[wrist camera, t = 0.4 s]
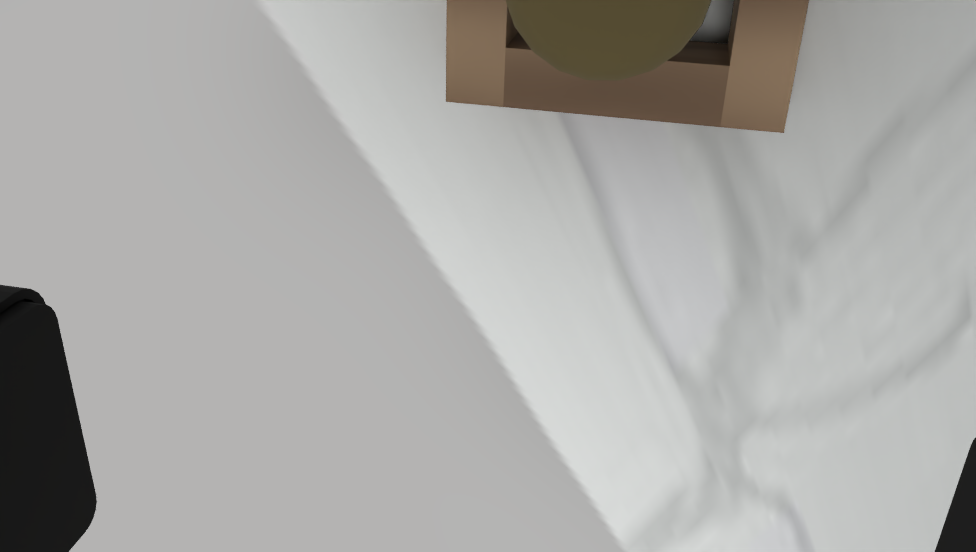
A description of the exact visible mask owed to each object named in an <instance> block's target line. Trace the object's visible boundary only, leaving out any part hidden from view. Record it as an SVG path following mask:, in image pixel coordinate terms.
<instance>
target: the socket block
mask: <svg viewBox="0 0 976 552" xmlns="http://www.w3.org/2000/svg"><path fill="white" fill-rule="evenodd" d="M808 3H809V0H734V5H733V12H732V18H731V25H730V31H729V38H728V44H723V43H710V42H697V41H688V43H687V44H686V45H685V47H684V48H683V49H682V50H681V51H680V52H679V53H677V54H676V55H675V56H673V57H672V58H670V59H669V60H667V61H666V62H664V63H663V64H661V65H660V66H658V67H657V68H656V69H654V70H652V71H649V72H646V73H642V74H639V75H636V76H633V77H629V78H626V79H623V80H620V81H609V80H586V79H583V78H580V77H577V76H573V75H570V74H567V73H564V72H561V71H558V70H557V69H556V68H554V67H553V66H552V65H550V64H549V63H547V62H546V61H545V60H543V59H542V58H541V57H539V56H538V55H537V54H535V53H534V52H533V51H532V50H531V48H530V47H529V46H528V44H527V43H526V42H525V40H524V39H523V37H522V36H521V35H520V33H519V32H518V31H517V29H516V28H515V26H514V24H513V21H512V18H511V15H510V12H509V9H508V6H507V3H506V0H447V37H446V102H456V103H467V104H478V105H489V106H499V107H510V108H521V109H532V110H543V111H553V112H564V113H575V114H586V115H597V116H607V117H618V118H629V119H640V120H651V121H661V122H672V123H683V124H694V125H704V126H715V127H726V128H737V129H748V130H758V131H769V132H780V133H784V129H785V123H786V118H787V113H788V108H789V102H790V97H791V92H792V87H793V81H794V76H795V71H796V66H797V60H798V55H799V50H800V45H801V39H802V34H803V29H804V24H805V18H806V13H807V8H808Z"/></svg>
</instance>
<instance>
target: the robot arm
mask: <svg viewBox="0 0 976 552" xmlns="http://www.w3.org/2000/svg"><path fill="white" fill-rule="evenodd" d="M96 502H97V501H96V493H95V489H94V484H93V479H92V475H91V471H90V466H89V461H88V456H87V452H86V447H85V443H84V438H83V434H82V429H81V424H80V420H79V415H78V411H77V406H76V402H75V397H74V393H73V388H72V383H71V380H70V374H69V370H68V366H67V361H66V356H65V352H64V347H63V342H62V338H61V333H60V329H59V324H58V320H57V317H56V314H55V312H54V310H53V309H52V308H51V307H50V306H48V305H46V304H45V302H44V299H43V298H42V297H41V296H40V294H39V293H38V292H35V291H34V290H32V289H27V288H19V287H12V286H4V285H0V552H69V550H70V549H71V548H72V547H73V546H74V545H75V543H76V542H77V541H78V540H79V539H80V537H81V536H82V535H83V534H84V533H85V532H86V530H87V529H88V527H89V526H90V524H91V521H92V519H93V517H94V513H95V510H96ZM935 552H976V438H975V439H974V440H973V442H972V445H971V447H970V450H969V453H968V456H967V458H966V461H965V464H964V467H963V470H962V473H961V476H960V479H959V482H958V485H957V488H956V491H955V494H954V497H953V500H952V503H951V506H950V509H949V512H948V514H947V517H946V520H945V523H944V526H943V529H942V532H941V535H940V538H939V541H938V544H937V547H936V550H935Z"/></svg>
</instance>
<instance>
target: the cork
mask: <svg viewBox="0 0 976 552" xmlns="http://www.w3.org/2000/svg"><path fill="white" fill-rule="evenodd" d="M506 3H507V6H508V9H509V12H510V15H511V18H512V21H513V24H514V26H515V28H516V29H517V31H518V32H519V33H520V35H521V36H522V37H523V39H524V40H525V42H526V43H527V44H528V46H529V47H530V48H531V50H532V51H533V52H534V53H535V54H537V55H538V56H539V57H541V58H542V59H543V60H545V61H546V62H547V63H549V64H550V65H552V66H553V67H554V68H556V69H557V70H558V71H561V72H564V73H567V74H570V75H573V76H577V77H580V78H583V79H586V80H609V81H620V80H623V79H626V78H629V77H633V76H636V75H639V74H642V73H646V72H649V71H652V70H654V69H656V68H657V67H658V66H660V65H661V64H663V63H664V62H666V61H667V60H669V59H670V58H672V57H673V56H675V55H676V54H677V53H679V52H680V51H681V50H682V49H683V48H684V47H685V45H686V44H687V43H688V41H689V40H690V39H691V38H692V36H693V35H694V34H695V33H696V31H697V30H698V29H699V28H700V26H701V25H702V24H703V21H704V18H705V16H706V13H707V11H708V8H709V6H710V3H711V0H506Z"/></svg>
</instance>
